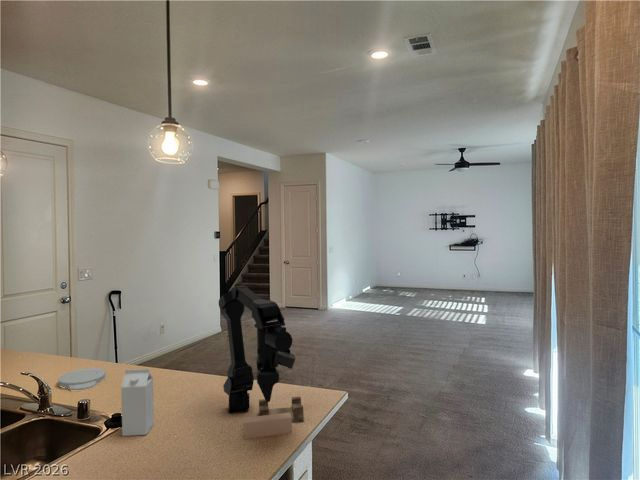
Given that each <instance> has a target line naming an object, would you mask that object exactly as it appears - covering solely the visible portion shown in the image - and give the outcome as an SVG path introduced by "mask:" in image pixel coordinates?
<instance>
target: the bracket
mask: <svg viewBox="0 0 640 480" xmlns="http://www.w3.org/2000/svg"><path fill="white" fill-rule="evenodd" d="M258 408H259V409H258V416H264V415H272V414H281V413H289V412H290V415H291V417H292V424H293V423H303V422H304V420H305V419H304V404H302V397H301V396H293V397H291V407H281V408H280V407H279V408H277V407H276V408H269V402H266V400H265V398H261V399H258Z"/></svg>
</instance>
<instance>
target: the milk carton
mask: <svg viewBox="0 0 640 480" xmlns="http://www.w3.org/2000/svg"><path fill="white" fill-rule="evenodd" d="M120 387H121V391H120V393H121V396H120V397H121V425H122V426H121V428H122V429H121V431H122V435H121V436H122V437H130V436H146V435H147V434H148V433H149V432H150V430H151V429H152V427H153V426H154V424H155V415H154V414H155V413H154V411H155V410H154V377H153V376H152V374H151V373H150V368H140V369H139V368H138V369H135V368H134V369H125V370H124V377H123V380H122V382H121V386H120Z"/></svg>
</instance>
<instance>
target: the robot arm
mask: <svg viewBox="0 0 640 480" xmlns="http://www.w3.org/2000/svg"><path fill="white" fill-rule="evenodd" d="M245 307H246V308H247V309H248V310H250V311H251V317H252V319H253V320H254V322H255V323H254V326H253V327H254V328H256V347H257V348H256V350H257V352H256V353H257V355H256V368H257V369H256V370H257V371H256V383H257V385H258V387H259V389H260V391H261V393H262V396H263V399H265V400H266V402H268V403H269V402H271V398H272V393H273V389H274V386H275V385H276V384H278V383H279V382H280V374H279V373H280V372H279V370H278V369H277V368H279V366H282V367H286V368H288V369H291V370H292V369H293V368H294V364H295V361H296V356H295V355H294V353H291V346H292V345H293V337H292V335H291V334H290V333H289V332H288V331H287V327H286V322H285V317H284V315H283V314H282V312H281V309H280V306H279V305H278V303H277V302H276V301H273V300H271V299H270V300H269V299H263V298H262V297H260V296H258V295H257V294H256V293H255V292H254V291H252V290H251V289H250V288H249V286H247V285H239V286H238V285H237V286H234V287H231V289H230V290H229V291H227V292H225V293H223V294H222V296H220V298H219V300H218V308H219V309H220V315H222V316H223V318H224V319H225V321H226V326H227V333H228V334H227V335H228V343H229V344H228V345H229V352H230V361H231V362H230V365H229V367H228V370H227V378H226V380H225V382H224V383H223V392H224V393H225V394H226V395H228V410H227V411H228V414H231V413H232V414H233V413H247V412H249V408H250V393H249V391H252V390H253V387H254V379H255V377H254V374H253V368H252V366H251V365H249V364H248V363H247V361H246V353H245V345H244V334H243V326H242V316H243V314H244V312H245Z"/></svg>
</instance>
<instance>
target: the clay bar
mask: <svg viewBox="0 0 640 480" xmlns="http://www.w3.org/2000/svg"><path fill="white" fill-rule="evenodd" d="M243 426H244V427H243V429H244V430H243V434H244V440H246V439H247V440H249V439H255V438H264V437H272V436H279V435H287V434H292V433H293V430H292V429H293V423H292V417H291V415H290V412H289V413H281V414H272V415H264V416H259V415H258V416H257V415H256V416H249V417H243Z"/></svg>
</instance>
